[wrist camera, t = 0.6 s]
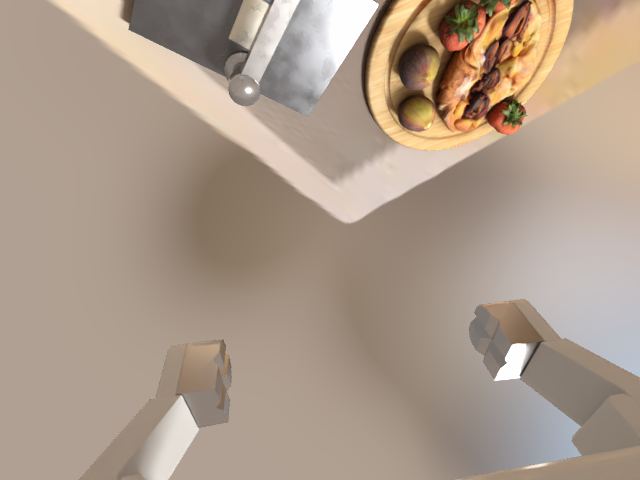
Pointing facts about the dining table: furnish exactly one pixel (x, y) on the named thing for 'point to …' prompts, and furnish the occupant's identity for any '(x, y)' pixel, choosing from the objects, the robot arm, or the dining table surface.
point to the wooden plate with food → (460, 66)
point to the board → (238, 34)
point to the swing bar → (260, 52)
